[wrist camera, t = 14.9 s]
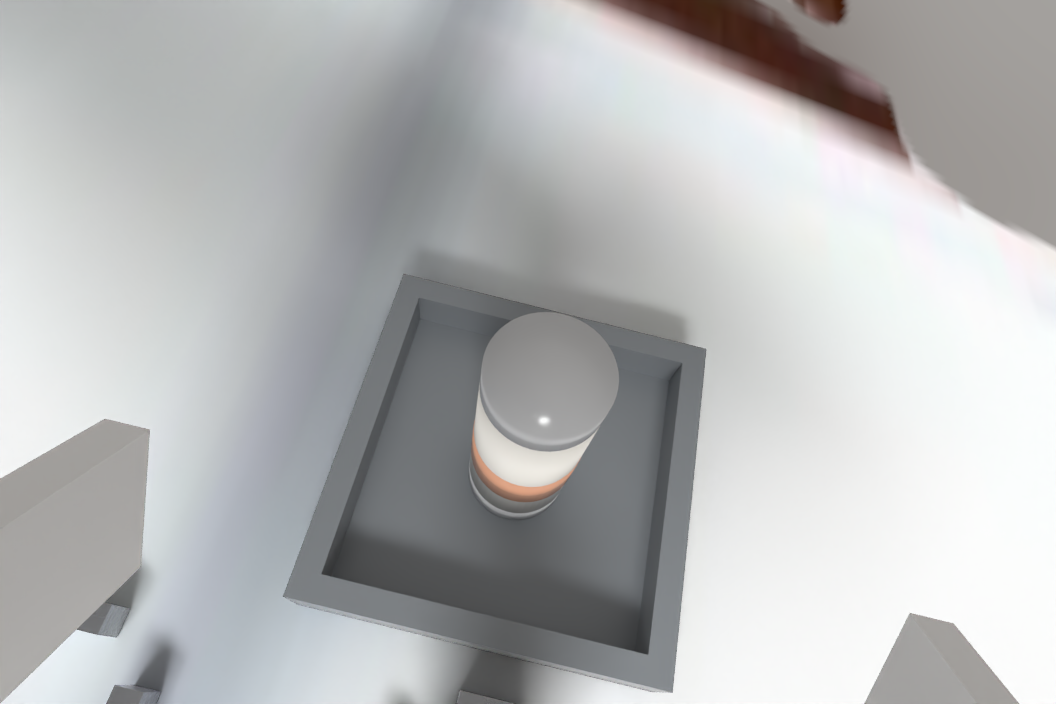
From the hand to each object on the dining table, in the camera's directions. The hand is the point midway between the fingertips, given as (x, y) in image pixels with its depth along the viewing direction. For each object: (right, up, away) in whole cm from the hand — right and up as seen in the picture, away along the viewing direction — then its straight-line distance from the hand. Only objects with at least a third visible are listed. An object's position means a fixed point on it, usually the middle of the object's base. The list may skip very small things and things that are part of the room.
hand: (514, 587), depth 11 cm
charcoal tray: (0, -1, +17) cm, 17 cm away
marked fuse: (0, -1, +16) cm, 17 cm away
